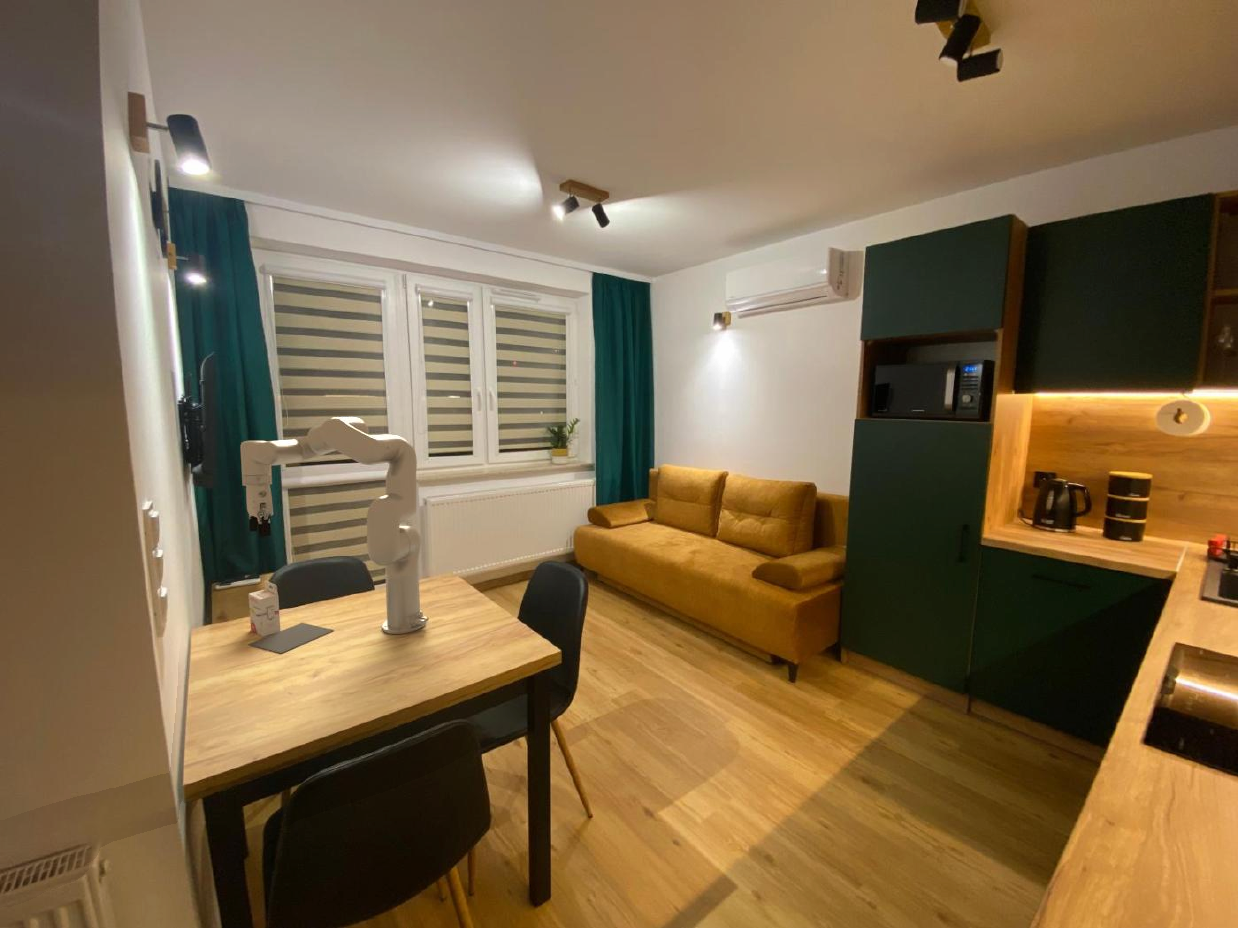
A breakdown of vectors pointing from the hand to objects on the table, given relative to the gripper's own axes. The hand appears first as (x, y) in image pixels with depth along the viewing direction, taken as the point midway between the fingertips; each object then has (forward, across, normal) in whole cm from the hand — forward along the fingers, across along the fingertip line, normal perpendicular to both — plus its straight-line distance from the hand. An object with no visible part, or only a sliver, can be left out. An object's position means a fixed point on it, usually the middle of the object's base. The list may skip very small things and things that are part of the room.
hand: (260, 533), depth 158 cm
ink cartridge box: (+28, -11, +2) cm, 30 cm away
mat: (+28, -22, -2) cm, 36 cm away
